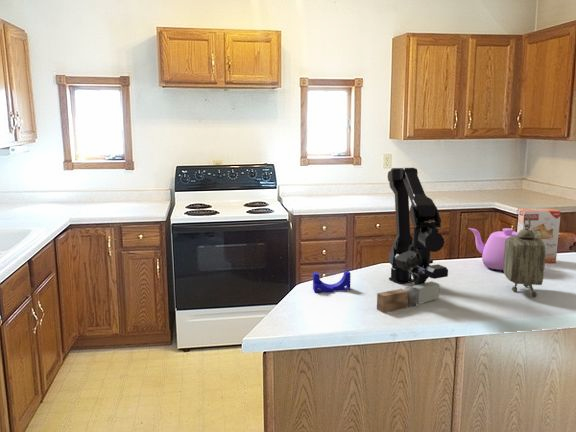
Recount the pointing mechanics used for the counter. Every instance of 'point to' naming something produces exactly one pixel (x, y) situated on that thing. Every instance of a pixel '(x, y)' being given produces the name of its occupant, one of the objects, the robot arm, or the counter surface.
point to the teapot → (493, 247)
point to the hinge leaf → (423, 292)
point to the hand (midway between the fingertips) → (418, 291)
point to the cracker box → (543, 228)
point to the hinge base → (394, 300)
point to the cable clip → (328, 288)
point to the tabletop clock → (524, 259)
